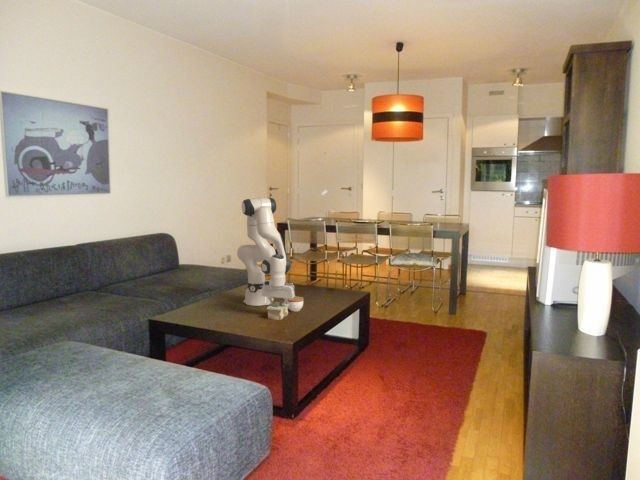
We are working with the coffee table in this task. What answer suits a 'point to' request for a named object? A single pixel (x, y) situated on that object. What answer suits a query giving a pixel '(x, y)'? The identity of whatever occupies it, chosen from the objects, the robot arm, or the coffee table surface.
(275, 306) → the lid
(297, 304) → the lidded jar
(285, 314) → the box
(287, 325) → the coffee table surface
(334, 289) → the coffee table surface
